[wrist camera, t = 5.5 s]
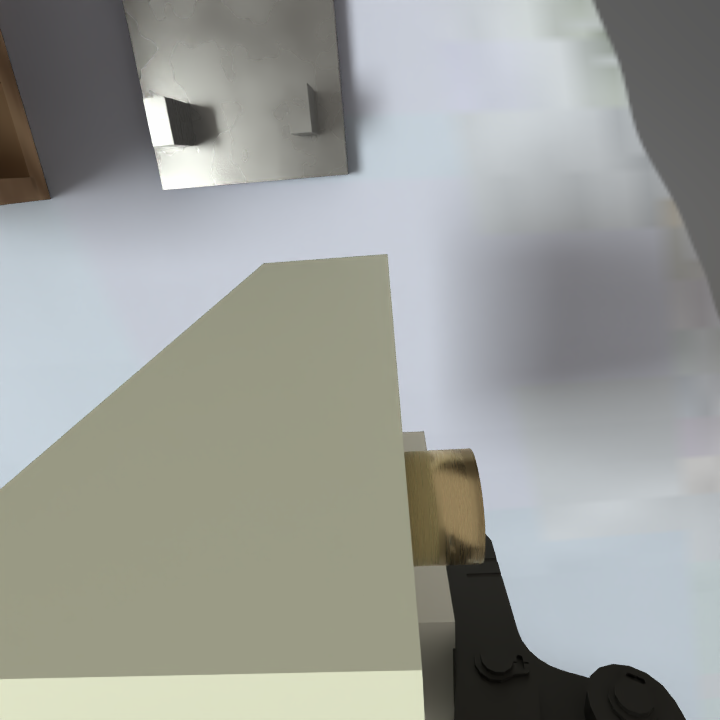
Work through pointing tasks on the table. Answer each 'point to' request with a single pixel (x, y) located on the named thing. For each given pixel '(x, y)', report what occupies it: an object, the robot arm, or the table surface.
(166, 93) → the grey pegged base plate
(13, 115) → the cabinet
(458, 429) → the table surface
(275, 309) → the door panel
